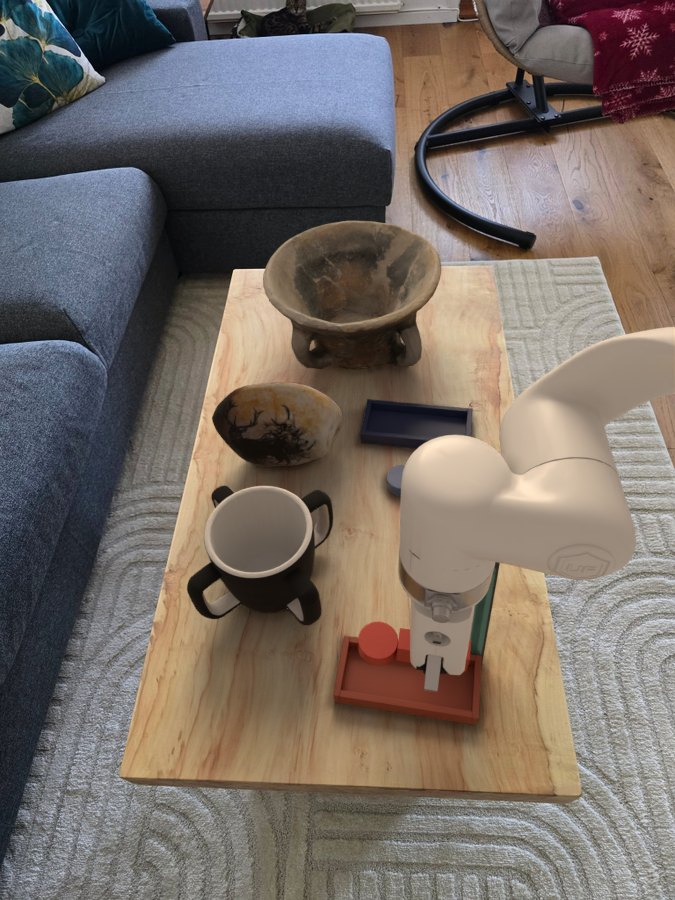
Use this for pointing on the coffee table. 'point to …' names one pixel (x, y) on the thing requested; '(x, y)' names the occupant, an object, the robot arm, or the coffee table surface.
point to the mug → (263, 552)
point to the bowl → (353, 293)
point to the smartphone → (483, 617)
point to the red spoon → (387, 644)
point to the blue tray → (411, 423)
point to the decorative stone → (278, 423)
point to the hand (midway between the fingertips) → (432, 654)
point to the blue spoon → (395, 479)
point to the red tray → (407, 687)
